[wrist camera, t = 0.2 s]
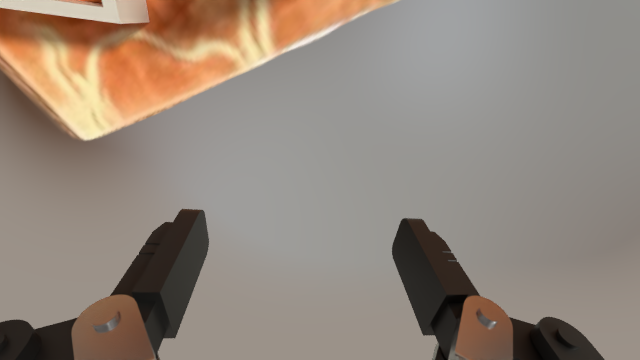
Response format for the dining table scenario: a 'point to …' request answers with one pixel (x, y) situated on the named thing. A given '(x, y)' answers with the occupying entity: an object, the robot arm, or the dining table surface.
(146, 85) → the dining table surface
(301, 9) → the dining table surface
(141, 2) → the grey open square box
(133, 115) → the dining table surface
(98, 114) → the dining table surface
